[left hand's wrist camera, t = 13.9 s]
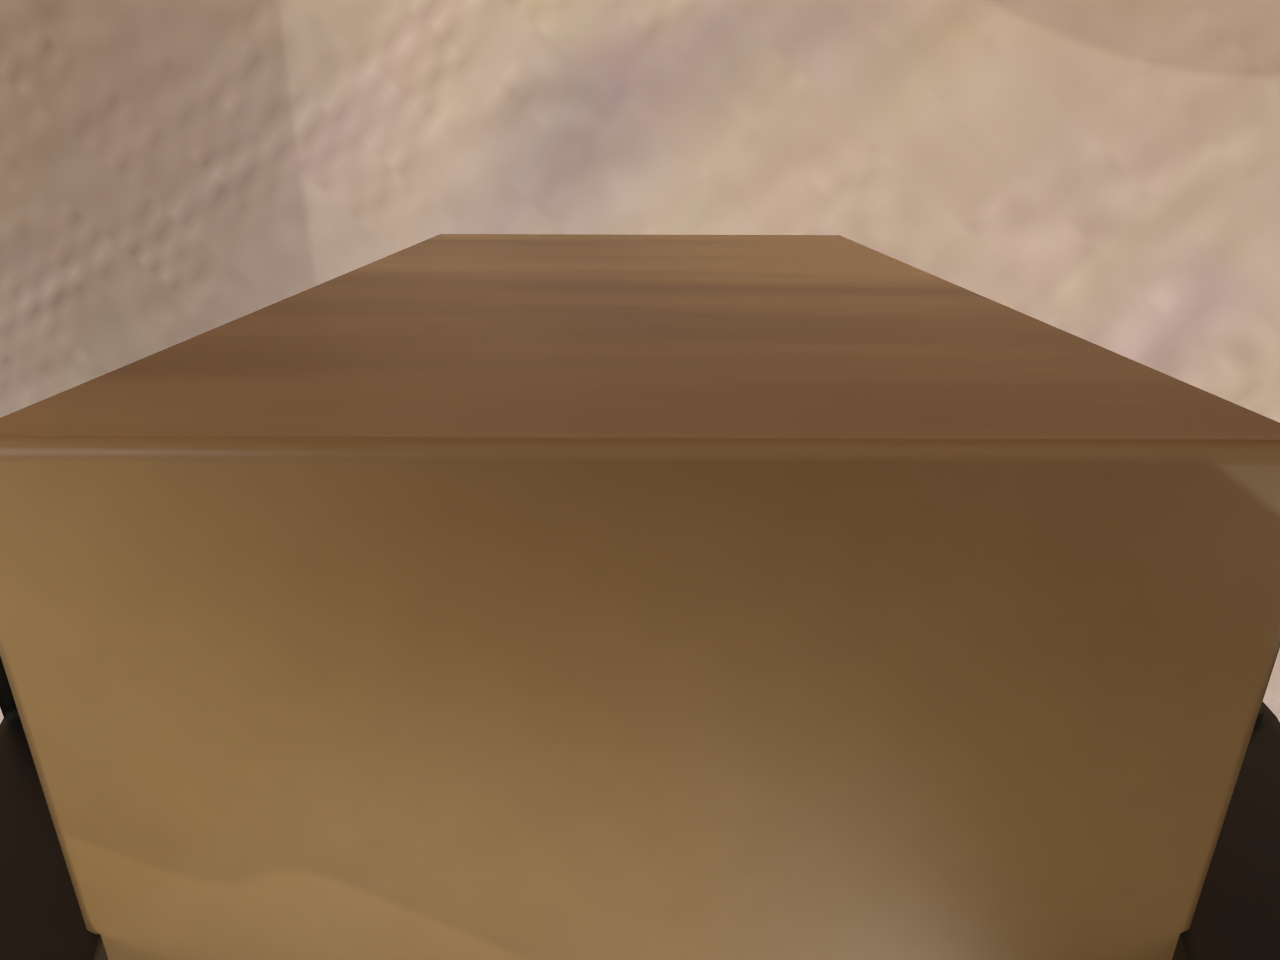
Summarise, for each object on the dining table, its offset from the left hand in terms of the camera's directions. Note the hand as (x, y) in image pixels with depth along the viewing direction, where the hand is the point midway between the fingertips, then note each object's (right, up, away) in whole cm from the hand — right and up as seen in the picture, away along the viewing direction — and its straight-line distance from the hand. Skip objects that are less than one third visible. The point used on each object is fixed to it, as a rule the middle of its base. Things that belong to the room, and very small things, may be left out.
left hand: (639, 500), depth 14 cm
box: (0, -7, +4) cm, 8 cm away
